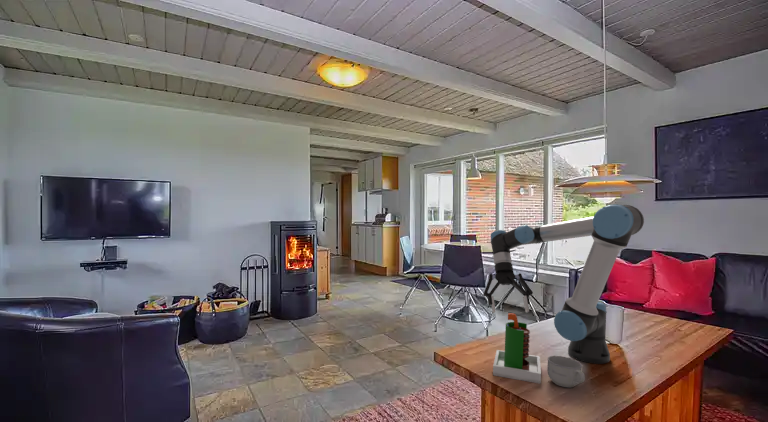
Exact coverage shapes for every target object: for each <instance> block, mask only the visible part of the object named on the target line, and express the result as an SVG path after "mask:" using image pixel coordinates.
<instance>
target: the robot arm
mask: <svg viewBox="0 0 768 422" xmlns="http://www.w3.org/2000/svg"><path fill="white" fill-rule="evenodd" d="M644 223H645V219H644V215H643V213H642V211H640V209H638V208H637V207H635V206H633V205H629V204H609V205H605V206H603V207H601V208H599V209H598V210H597V211H596V212H595V214H594V216H589V217H584V218H576V219H572V220H571V219H570V220H567V221H560V222H555V223H547V224H543V225H538V226H532V227H531V226H529V225H528V224H524V225H520V226H517V227H515V228H514V229H512V230H509V231H506V230H503V229H499V230H494V231H492V232H491V233H490V244H491V248H492V256H493V257H492V258H493V263H494V272H495V274H492V273H489V275H488V281H487V284H486V286H485V290H484V291H483V296H484V297H486V298H487V300H488V305H489V306H491V312H492V314H495V313H496V306H495V305H496V304H495V299H494V295H493V294H494V293H495V292H496V291H497V289H498V287H499V286H500V285H502V286H512V287H514V288H515V289H516V290H517V291H518V292H519V293H521V295H522V296H523V297H522V299H523V304H524V305H523V306H524V311H525V313H526V314H527V313H529V312H530V309H529V305H530V303H531V301H530V296H532V295H533V294H534V293H533V290H532V288H531V287H530V286H529V285H528V283H527V282H526V280H525V278H523V274H522V273H520V272H519V273H518V274H516V273H514V268H513V262H512V256H511V255H512V254H511V250H512V249H514V248H518V247H520V246H524V245H526V246H527V245H531V244H533V245H535V244H541V243H547V242H548V243H549V242H554V241H561V240H563V241H564V240H569V239H576V238H577V239H578V238H583V237H590V236H591V237H592V239H593V243H592V245H591V248H590V250H589V252H588V254H587V258H586V260H585V262H584V265H583V268H582V270H581V273H580V275H579V278H578V280H577V283H576V285H575V288H574V291H573V294H572V296H571V297H568V298H566V299H565V301H564V304H563V306H562V308H561V310H559V311H558V312H557V313H556V314H555V316H554V319H553V325H554V328H555V329H556V332H557V333H558V334H559V336H560V337H562V338H564V339H565V340H567V341H570V342H569V344H568V348H567V353H568V355H569V356H571V358H572V359H574V360H577V361H581V362H585V363H588V364H589V363H590V364H598V365H599V364H601V365H602V364H607V363H609V362H610V361H611V354H610V350H609V348H608V345H607V344H608V343H607V342H606V331H607V330H606V329H607V313H608V312H607V306H606V304H605V302H604V303H603V302H600V299H601V296H602V293H603V291H604V289H605V286H606V284H607V282H608V279H609V277H610V274H611V272H612V269H613V267H614V264H615V263H616V260H617V257H618V255H619V253H620V250H623V249H625V248H626V247H627V246H628V244H629V242H630V239H631V237H632V236H634V235H636V234H637V233H639V232H640V231H641V230H642V228H643V226H644ZM494 279H495V280H496V281H497V282H496V283H495V285H493V287H492V289H491V290H490V287H491V284H492V282H493V281H494ZM515 279H516V280H515ZM517 280H518V282H519V283H520V284H519V283H518V282H517ZM489 290H490V292H489Z"/></svg>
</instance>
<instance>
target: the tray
mask: <svg viewBox="0 0 768 422" xmlns="http://www.w3.org/2000/svg"><path fill="white" fill-rule="evenodd" d="M504 355H505V350H499V349H496V352H495V356H494V361H493V365H492V376H495V377H500V378H507V379H512V380H518V381H523V382H529V383H535V384H542V382H541V381H542V371H541V369H542V368H541V356H539V355H534V354H529V357H527V358H525V360H527V361H528V362H529V371H528V370H522V369H516V368H510V367H504Z"/></svg>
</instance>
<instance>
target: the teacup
mask: <svg viewBox="0 0 768 422" xmlns="http://www.w3.org/2000/svg"><path fill="white" fill-rule="evenodd" d="M582 367H583V364H582V363H581V362H580V361H579V360H577V359H575V358H572V357H567V356H562V355H550V356H548V357H547V368H546V369H547V375H548V378H549V379H550V380H551V381H552V382H553V383H554V384H555V385H557V386H559V387H562V388H574V387H576V386H578V385H580V384H582V383H584V382H585V380H586V375H585V372H583V371H582Z"/></svg>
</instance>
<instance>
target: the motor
mask: <svg viewBox="0 0 768 422" xmlns="http://www.w3.org/2000/svg"><path fill="white" fill-rule="evenodd" d="M507 320H508V321H509V322H508V321H507V322H506V323H505V333H504V336H505V337H504V351H505V355H504V367H510V368H516V369H522V370H528V371H529V362H528V361H527V360H525V358H527V357H529V355H530V353H529V352H530V337H531V336H530V333H531V331H530V329H528V328H527V326H528V324H527V323H526V322H521V321H518V316H517V314H516V313H514V312H508V313H507Z"/></svg>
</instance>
